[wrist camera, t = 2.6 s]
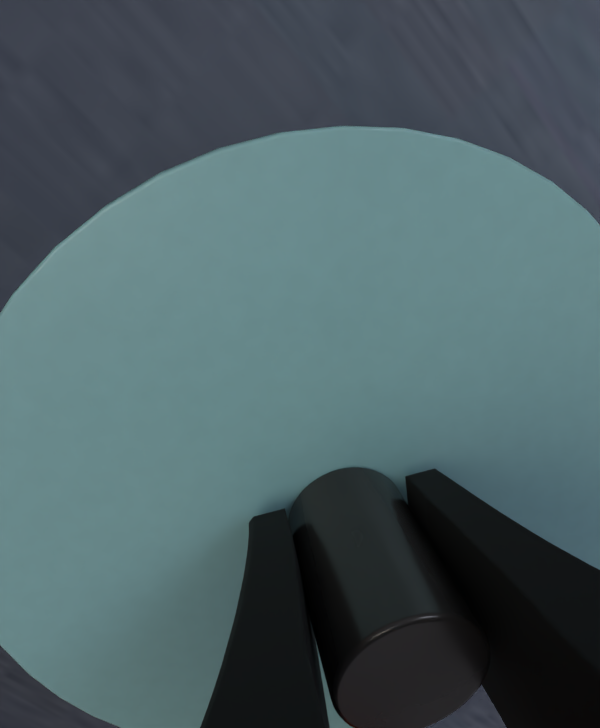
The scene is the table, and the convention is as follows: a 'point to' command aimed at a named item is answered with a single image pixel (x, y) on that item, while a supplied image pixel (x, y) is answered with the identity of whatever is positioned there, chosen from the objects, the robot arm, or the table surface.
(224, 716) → the robot arm
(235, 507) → the lid
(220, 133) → the table surface
